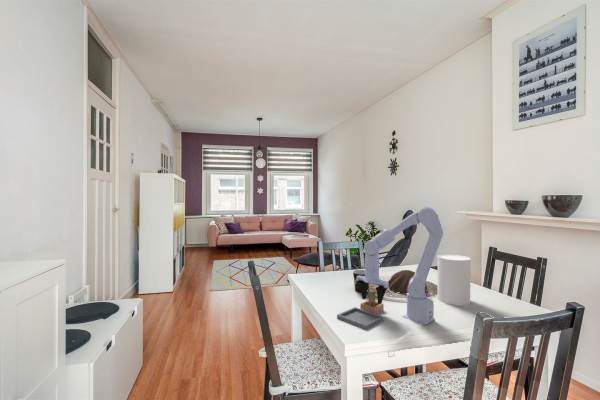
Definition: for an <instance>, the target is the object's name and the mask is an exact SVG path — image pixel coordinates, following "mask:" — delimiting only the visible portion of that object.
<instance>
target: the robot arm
mask: <svg viewBox="0 0 600 400" xmlns="http://www.w3.org/2000/svg"><path fill="white" fill-rule="evenodd" d="M420 224H421V225H423V226H424V227H425V229H426V230H427V232H428V234H429V235H428V237H427V240H426V242H425V244H424V247H423V250H422V254H421V256H420V259H419V261H418V264H417V267H416V270H415V271H414V272H415V274H414V276H413V277H412V278H411V279H410V280H409V285H408V287H407V291H408V293H407V294H406V314H404V315H403V316H402V318H404V319H408V320H410V321H414V322H417V323H419V324H421V325H424V326H425V325H426V326H427V325H428V324H430V323H431V322H432V321H434V320H435V317H434V307H435V305H434V301H433V299H430V298H429V297H427V294H426V292H425V283H426V282H427V278H428V277H429V276H428V275H429V272H430V271H431V268H432V265H433V262H434V260H435V258H436V254H437V251H438V250H439V247H440V243H441V241H442V239H443V235H444V230H443V227H442V224H441V220H440V218H439V215H438V214H437V212H436V211H435V210H434V209H433V208H431V207H427V206H426V207H423V208H421V209H420V210H419V211H415V212H413V213H411V214H409V215H408V216H406V217H405V218H404V219H403V220H401V221H400V222H398V224H396V225H394V226H393V227H392V228H384V229H381V230H379V233H377V234H376V235H375V236H372V237H371V238H370V239H369V240H367V241H366V243H365V244H364V245H363V251H364V252H365V254H364V255H365V256H364V257H365V258H364V270H365V276H360V275H359V276H357V281H359V282H357V285H358V287H359V289H360V292H361V293H360V294H361V298H362V300H366V299H368V298H367V296H368V292H367V286H368V283H369V285H370V284H371V285H374V286H376V287H375V290H376V291H375V292H376V296H377V299H376V300H377V301H376V302H378V304H381V303H382V304H383V301H384V296H385V293H386V292H387V290H388V289H389V282H388V281H385V280H382V279H380V256H379V251H380V250H381V249H384V248H385V247H387V246H389V244H391V243H393V242H394V241H395V240H396V236H397V235H398V234H400V233H402V232H403V231H405V230H406V229H408V228H409V227H411V226H416V225H420ZM426 284H427V283H426Z"/></svg>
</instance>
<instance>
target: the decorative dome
mask: <svg viewBox="0 0 600 400" xmlns="http://www.w3.org/2000/svg"><path fill="white" fill-rule="evenodd" d="M415 272H416V271H413V270H410V269H405V270H404V269H402V270H400V271H397V272H395V273H393V275H391V277H390V279H388V281H387V282H389V287H388V290H389V289H390V290H389V291H392V290H394V291H393V292H395V291H396V292H400V293H399V294H403V293H408V291H407V287H408V285H409V280H410V279H411V278H412V277H413V276H414V274H415ZM426 290H427V291H428V285H427V283H425V291H426ZM396 292H395V293H396Z"/></svg>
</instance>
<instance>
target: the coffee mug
mask: <svg viewBox="0 0 600 400" xmlns="http://www.w3.org/2000/svg"><path fill="white" fill-rule="evenodd" d="M352 274H353V282H354V283H353V285H354V291H355V292H356V293H360V294H361V292H360V289H359V287H358V285H357V282H359V281H357V276H359V275H360V276H365V269H355V270H352ZM369 287H370V283H368V286H367V290H368V291H369V289H370V288H369Z"/></svg>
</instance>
